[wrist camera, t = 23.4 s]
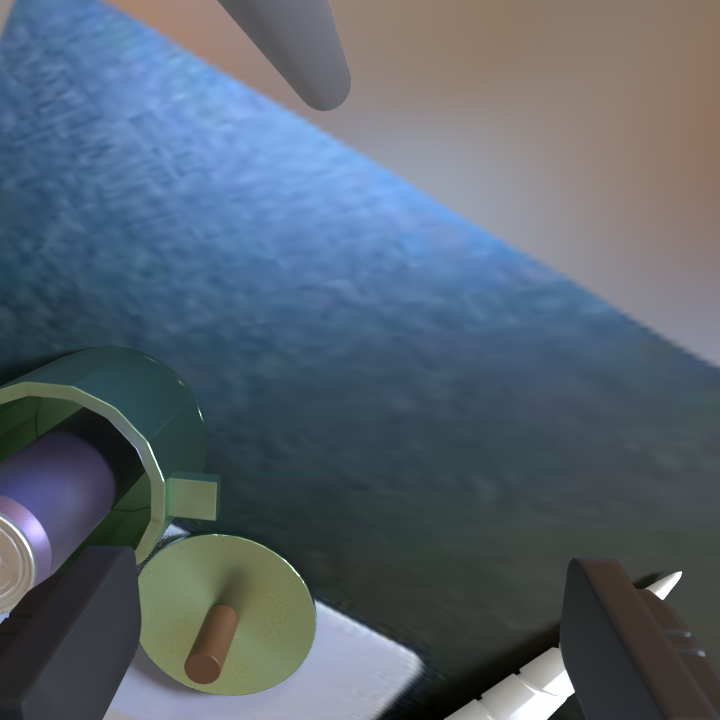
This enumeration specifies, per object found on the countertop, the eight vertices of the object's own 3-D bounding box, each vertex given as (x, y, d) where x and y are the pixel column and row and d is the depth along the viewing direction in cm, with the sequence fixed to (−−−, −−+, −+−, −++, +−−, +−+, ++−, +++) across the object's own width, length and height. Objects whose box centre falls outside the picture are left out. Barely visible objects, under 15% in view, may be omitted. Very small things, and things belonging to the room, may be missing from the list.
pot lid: (135, 517, 44) (96, 566, 38) (324, 537, 43) (313, 589, 38) (136, 674, 47) (100, 742, 41) (311, 693, 47) (299, 764, 41)
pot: (-16, 333, 41) (-118, 366, 33) (251, 360, 40) (215, 400, 32) (-4, 503, 44) (-94, 573, 36) (243, 529, 44) (209, 606, 35)
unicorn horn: (708, 603, 43) (747, 652, 39) (445, 766, 48) (451, 827, 43) (670, 557, 42) (705, 601, 38) (407, 727, 47) (408, 785, 43)
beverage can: (125, 379, 41) (-22, 478, 26) (177, 451, 42) (64, 584, 27) (57, 423, 42) (-121, 542, 27) (110, 491, 43) (-34, 641, 28)
